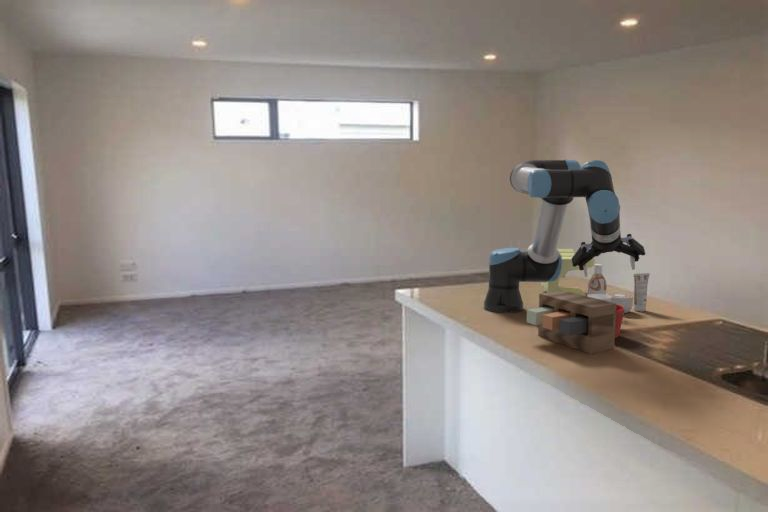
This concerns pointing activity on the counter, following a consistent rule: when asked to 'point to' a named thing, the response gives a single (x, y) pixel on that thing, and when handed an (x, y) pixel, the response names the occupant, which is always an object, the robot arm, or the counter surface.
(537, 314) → the sage key
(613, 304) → the box
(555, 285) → the slatted curved stool
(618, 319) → the flower pot
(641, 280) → the cosmetic set
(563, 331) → the slate key
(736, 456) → the counter surface
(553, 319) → the rust key
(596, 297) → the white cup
